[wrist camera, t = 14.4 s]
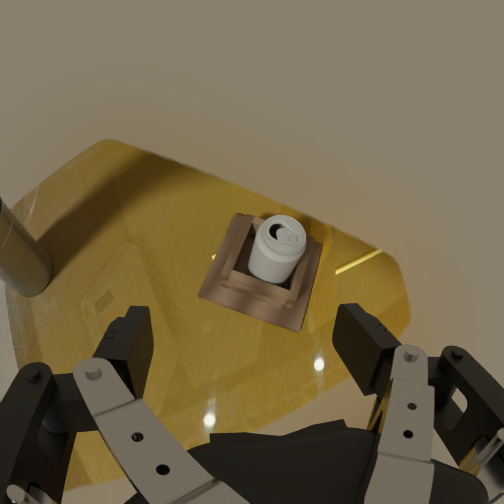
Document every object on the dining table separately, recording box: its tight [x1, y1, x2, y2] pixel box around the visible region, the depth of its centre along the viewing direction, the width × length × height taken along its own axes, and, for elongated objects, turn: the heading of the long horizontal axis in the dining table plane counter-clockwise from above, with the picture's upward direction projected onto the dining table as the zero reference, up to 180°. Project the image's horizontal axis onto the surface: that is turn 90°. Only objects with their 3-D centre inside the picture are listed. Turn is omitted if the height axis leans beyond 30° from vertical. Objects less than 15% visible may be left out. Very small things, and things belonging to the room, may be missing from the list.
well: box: [198, 213, 322, 332], centre depth 44 cm, size 16×16×5 cm
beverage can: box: [247, 215, 306, 287], centre depth 40 cm, size 6×6×12 cm
